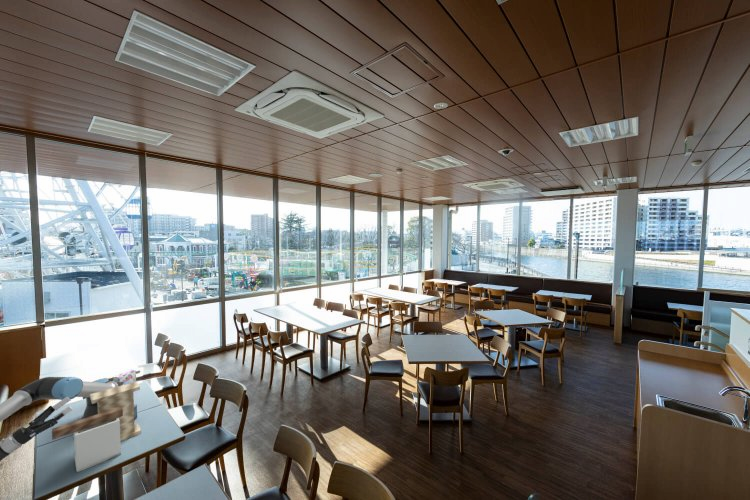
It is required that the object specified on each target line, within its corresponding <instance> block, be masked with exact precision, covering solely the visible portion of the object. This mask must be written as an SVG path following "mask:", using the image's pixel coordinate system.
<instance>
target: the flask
mask: <svg viewBox="0 0 750 500" xmlns="http://www.w3.org/2000/svg"><path fill="white" fill-rule="evenodd" d="M137 419H138V405H137V404H136V403H134V422H135V421H136V420H137Z"/></svg>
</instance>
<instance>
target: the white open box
mask: <svg viewBox="0 0 750 500" xmlns="http://www.w3.org/2000/svg"><path fill="white" fill-rule="evenodd" d="M121 442H122V441H120V420H119V418H116V419H113V420H110V421H107V422H104V423H101V424H98V425H95V426H92V427H89V428H86V429H83V430H80V431H77V432H74V433H73V449H74V450H73V451H74V452H73V453H74V465H75V472H76V473H79V472H81V471H84V470H86V469H89V468H91V467H94V466H96V465H99V464H101V463H104V462H106V461H108V460H111V459H113V458H116V457H118V456H121V455H122V448H121V447H122V445H121Z"/></svg>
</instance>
